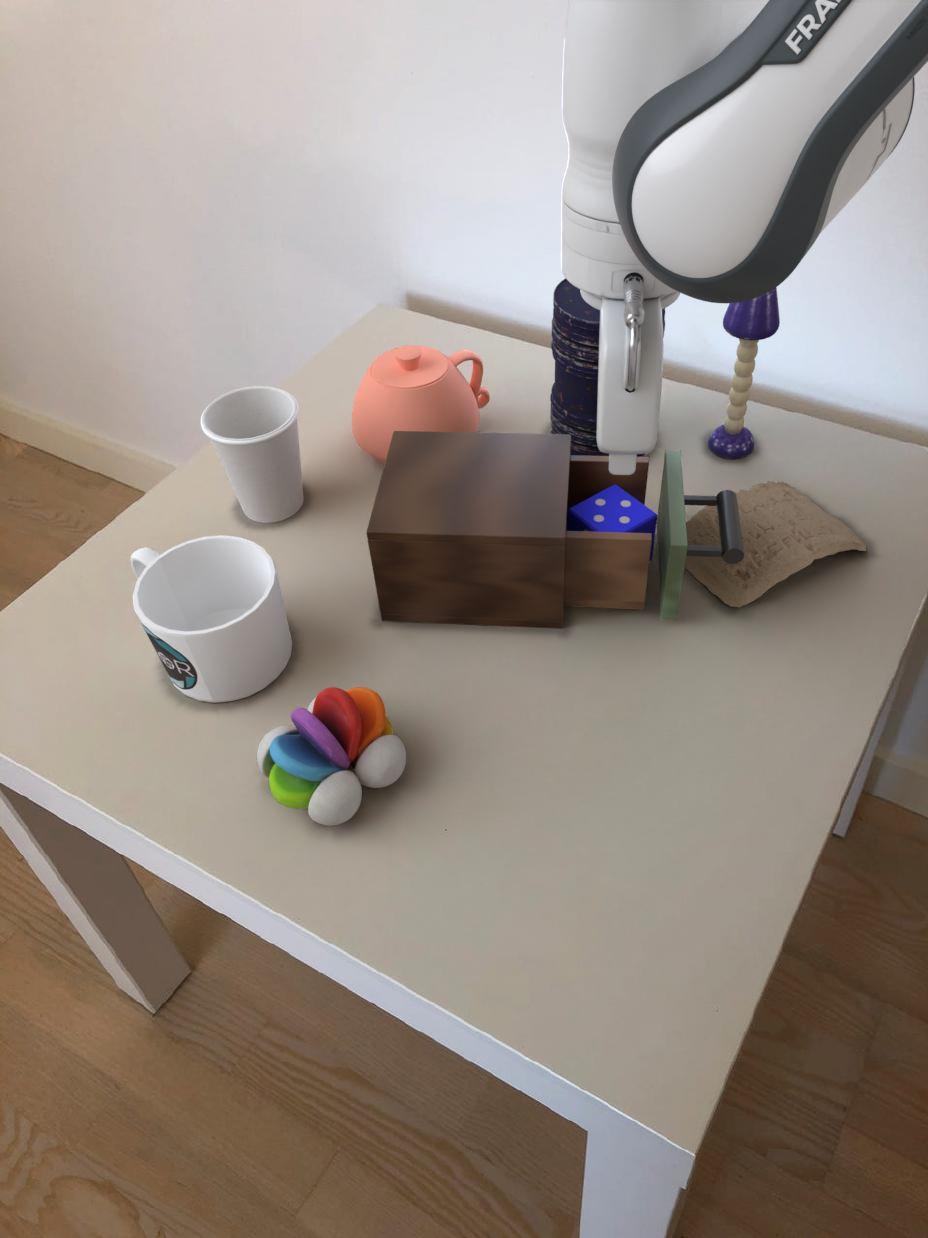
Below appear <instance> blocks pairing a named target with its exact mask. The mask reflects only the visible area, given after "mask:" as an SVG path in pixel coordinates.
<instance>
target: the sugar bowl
mask: <svg viewBox="0 0 928 1238" xmlns="http://www.w3.org/2000/svg"><path fill="white" fill-rule="evenodd" d="M467 361H472V370H471V371H472V372H471V377H470V381H469V382H468V381H467V379H466V377H465V376H464V374H463V373H462V371H460V370H459V368H458V366H459V365H461V364H463V363H465V362H467ZM483 377H484V363H483V360H482V358H481V356H480V355H479V354H477V352H474V351H473V350H469V349H463V350H458V351H456V352H454V353H452V354H451V355H449V356H448V357H447V355H445V353H443V352H442V351H440V350H438V349H436V348H433V347H430V346H425V345H413V344H407V345H402V346H399V347H396V348H392V349H389V350H387V351H385V352H383V353H382V354H380V355H378V356H377V357H376V358H375V359H374V360H373V361H372V363H371V364H370V365H369V367H368V369H367V370H366V372H365V374H364V375H363V377H362V379H361V381H360V383H359V385H358V388H357V389H356V393H355V395H354V400H353V403H352V410H351V430H352V435H353V438H354V439H355V440H354V441H356V443H357V444H358V446H359V447H360V448H361V450H362V451H364V452H365V453H366V454H367V455H368V456H370V457H372V458H373V459H375V460H376V461H378V462H380V463H382V464H384V465H385V461H386V458H387V454H388V450H389V447H390V443H391V439H392V436H393V432H394V431H422V432H475V433H478V431H479V428H480V424H481V423H480V421H481V417H480V409H483V408H485V407H486V406H487V405H488V404H489V402H490V399H491V395H490V391H489V390H488V389H487V388H486V387H485V386H482V382H483Z"/></svg>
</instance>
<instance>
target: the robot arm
mask: <svg viewBox="0 0 928 1238" xmlns="http://www.w3.org/2000/svg"><path fill="white" fill-rule="evenodd" d="M563 36H564V39H563V53H562V73H561V77H562V78H561V119H562V125H563V128H564V133H565V136H566V140H567V147H568V149H567V150H568V155H567V163H566V164H567V165H566V167H565V172H564V175H563V179H562V182H561V192H560V193H561V196H560V198H561V199H560V200H561V201H560V205H561V206H560V207H561V208H560V210H561V211H560V215H561V216H560V218H561V219H560V220H561V221H560V231H561V232H560V268H561V272H562V275H563V276H564V279H565V278H566V279H567V280H568V281H569V282H570V283H571V284H572V285H574V286H575V287H577V288H579V289H580V291H581V296H582V298H583V299H584V300H585V301H586V302H587V303H588V304H589V305H591V306H592V307H594V308H596V309H598V310H600V329H599V364H598V399H597V434H596V439H597V446H598V448H599V450H600V451H601V452H603V453H609V471H610V473H611V474H613V475H631V474H633V473H634V472H635V470H636V459H637V454H645V455H646V454H650V453H651V452H653V451H654V449H655V447H656V444H657V441H658V434H659V425H660V413H661V399H662V385H663V374H664V373H663V372H664V351H665V350H664V345H665V343H664V341H665V340H664V338H663V323H662V309H664V308H665V309H666V308H668V307H670V306H672V305H673V304H674V303H675V302H676V301H677V300H678V299H679V297H680V295H681V294H682V295H685V296H686V297H687V296H688V297H689V298H692V299H695V300H699V301H702V302H705V303H713V304H730V303H738V302H744V301H748V300H751V299H755V298H757V297H760V296H762V295H764V294H766V293H768V292H770V291H771V290H773V289H774V288H776V287H777V288H778V287H779V286H780V285H781V284H782V283H784V281H785V280H787V279H788V278H789V277H790V275H791V274H792V273H793V272H794V271H795V270H796V268H797V267H798V266H799V265H800V263H801V261H802V260H803V259H804V257H805V256H806V255H807V254H808V252H809V251H810V250H811V248H812V247H813V246H814V245H815V242H816V241H817V239H818V238H819V236H820V235H821V233H823V231H824V230H825V229H826V228H827V227H828V226H829V224H831V222H833V220H834V219H835V218H836V217H837V216H838V215H839V213H840V212H841V211H842V210H843V209H844V208H845V207H847V205H848V204H849V203H850V202H851V200H852V199H853V198H854V197H856V195H857V194H858V193H859V191H861V189H862V188H863V187H864V186H865V185H866V183H868V181H869V180H870V179H871V178H872V177H873V176H874V175H875V173H876V172H877V171H878V170H879V169H880V167H882V166H883V164H884V162H885V161H886V160H887V159H888V158H889V157H890V155H891V154H892V153H893V152H894V150H895V149H896V147H898V145H899V143H900V142H901V140H902V138H903V136H904V134H905V132H906V129H907V128H908V125H909V122H910V120H911V115H912V111H913V107H914V101H915V92H916V91H915V89H916V84H915V76H916V75H917V74H918V73H919V72H920V71H921V70H922V69H923V68H924V66H925V65H926V64H927V63H928V0H568V2H567V9H566V19H565V27H564V35H563Z"/></svg>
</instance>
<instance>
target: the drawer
mask: <svg viewBox="0 0 928 1238" xmlns="http://www.w3.org/2000/svg"><path fill="white" fill-rule="evenodd" d="M681 451H682V450H681V449H665V451H664V458H663V467H662V475H661V483H660V490H659V491H660V492H659V499H658V509H657V523H656V541H657V542H656V543H657V564H658V565H657V566H658V587H659V589H658V590H659V611H660V612H659V613H660V620H666V621H667V620H670V621H676V620H677V617H678V612H679V605H680V599H681V592H682V586H683V579H684V573H685V560H686V556H703V557H722V558H723V560H724V561H725V562H726V563H728V564H736V563H739V562H741V561H742V560H743V558H744V548H743V541H742V533H741V526H740V518H739V511H738V503H737V496H736V494H735V493H736V492H735V491H734V490H732V489H724V490H723V489H722V490H721V491H719V492H718V493H717V494H716V495H701V494H700V495H699V494H698V495H696V494H694V495H693V494H685V490H684V478H683V476H684V475H683V463H682V452H681ZM649 467H650V457H649V456H643V457H637V459H636V470H635V472H634V473H633V474H631V475H613V474H611V473H610V471H609V456H588V455H570V468H569V486H568V504H567V522H566V541H565V575H564V607H571V608H572V607H574V608H597V609H598V608H599V609H621V610H623V609H624V610H644V609H645V603H646V602H645V601H646V593H647V585H648V578H649V577H648V576H649V568H650V562H649V561H650V553H651V544H652V534H651V533H624V532H592V531H568V510H569V509H570V508H571V507H573V506H575V505H577V504H579V503H581V502H583V501H584V500H586V499H588V498H590V497H592V496H594V495H596V494H598V493H599V492H601V491H603V490H605V489H607V488H609V487H611V486H613V485H617V486H618V487H620V488H621V489H623V490H624V491H625V492H627V493H628V494H630V495H631V496H632V497H634V498H635V499H637V500H638V501H639V502H641V503H642V504H643V505H645V504H646V495H647V485H648V478H649V477H648V476H649ZM716 504H717V513H718V522H719V531H720V540H721V547H716V546H688V543H687V529H686V522H687V518H686V506H704V507H705V506H716ZM645 506H646V505H645Z"/></svg>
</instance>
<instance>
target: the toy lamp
mask: <svg viewBox="0 0 928 1238" xmlns="http://www.w3.org/2000/svg"><path fill="white" fill-rule="evenodd" d="M778 297H779V296H778V286H777V287H776V288H774V289H773V290H771V291H770V292H768V293H766V294H764V295H762V296H760V297H757V298H755V299H751V300H748V301H744V302H738V303H728V306H727V309H726V311H725V313H724V315H723V319H722V327H723V329H724V330H725V332H726V333H728V334H729V335H730V336H732V337H734V338H736V339H738V341H739V343H738V345H737V347H736V359H735V360H734V361H735V362H734V366H733V371H734V373H733V375H732V377H731V388H730V391H729V393H728V400H729V402H728V403H727V406H726V417H725V419H724V423H723V424H721V425H719V426H717V427H716V428H715V429H714V430H713V431H712V432H711V434H710V436H709V438H708V441H707V444H708V445H707V446H708V448H709V450H710V451H712V453H713V454H715V455H716V456H718V457H721V458H724V459H729V460H736V459H742V458H746V457H747V456H749V455H751V453H752V452H753V451H754V449H755V439H754V436H753V434H752V432H751V431H750V429H749V428H748V427H746V426H745V416H746V413H747V411H748V404H747V403H748V401H749V399H750V396H751V392H750V389H751V387H752V385H753V379H754V378H753V373H754V371H755V370H756V369H755V368H756V357H757V356H758V351H759V346H758V343H759V341H761V340H766V339H768V338H771V337H772V336H774V335H775V334H776V333H778V330H779V328H780V323H781V322H780V306H779V298H778Z"/></svg>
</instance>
